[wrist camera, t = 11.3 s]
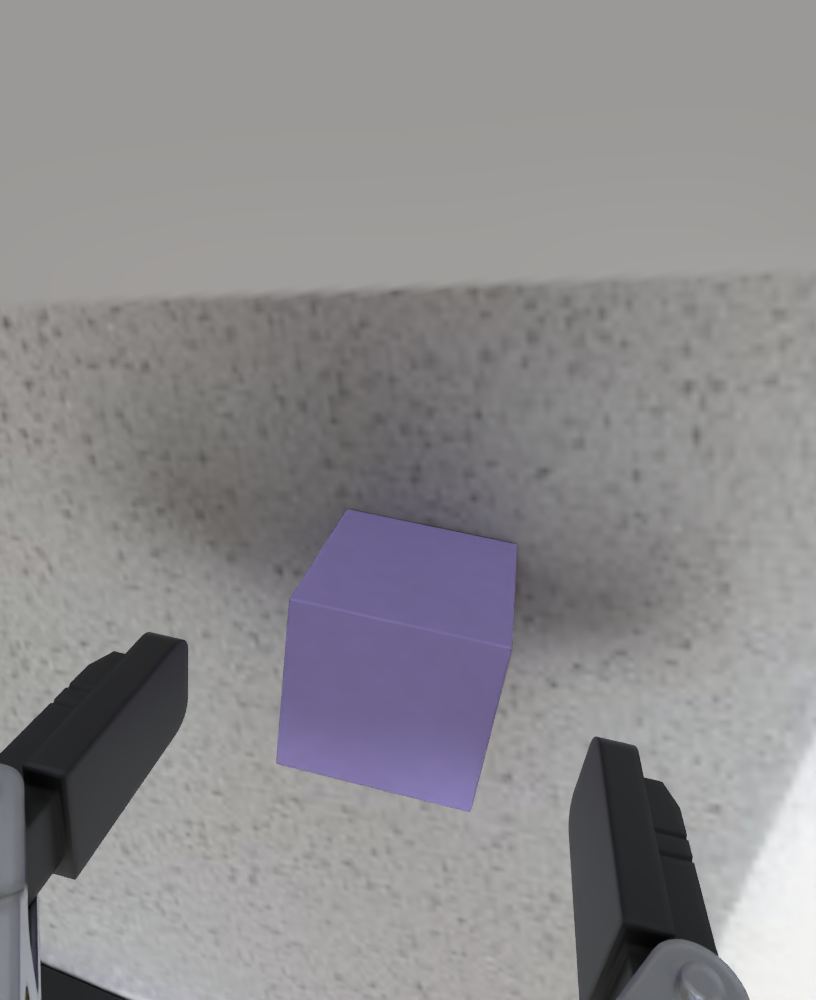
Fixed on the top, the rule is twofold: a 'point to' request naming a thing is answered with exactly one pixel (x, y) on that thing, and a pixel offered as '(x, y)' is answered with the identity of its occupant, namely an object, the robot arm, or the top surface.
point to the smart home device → (68, 988)
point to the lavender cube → (398, 658)
